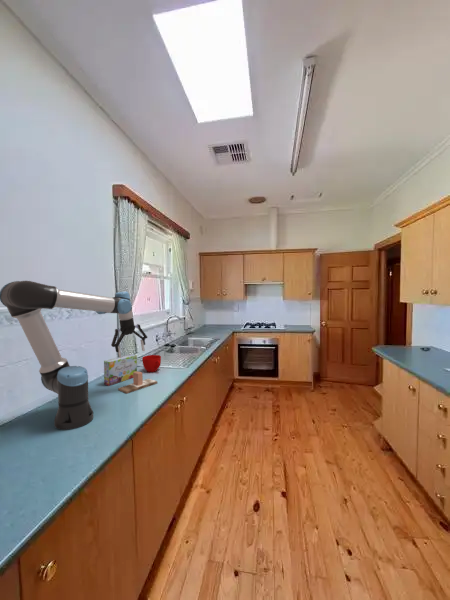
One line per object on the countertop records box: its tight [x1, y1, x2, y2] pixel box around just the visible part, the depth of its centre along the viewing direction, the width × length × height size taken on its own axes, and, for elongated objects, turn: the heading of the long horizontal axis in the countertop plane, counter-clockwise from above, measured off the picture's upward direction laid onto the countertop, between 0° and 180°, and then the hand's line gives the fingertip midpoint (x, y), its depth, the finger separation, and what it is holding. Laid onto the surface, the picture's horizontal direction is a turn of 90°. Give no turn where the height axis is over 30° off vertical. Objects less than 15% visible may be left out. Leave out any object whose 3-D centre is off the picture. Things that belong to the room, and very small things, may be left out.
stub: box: [128, 370, 147, 388], centre depth 163 cm, size 6×8×7 cm
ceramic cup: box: [141, 354, 162, 373], centre depth 193 cm, size 13×17×10 cm
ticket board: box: [117, 378, 158, 395], centre depth 163 cm, size 21×9×2 cm, turn 141°
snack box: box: [103, 353, 138, 387], centre depth 174 cm, size 21×6×15 cm, turn 148°
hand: (132, 353), depth 159 cm, fingers open, 13 cm apart
